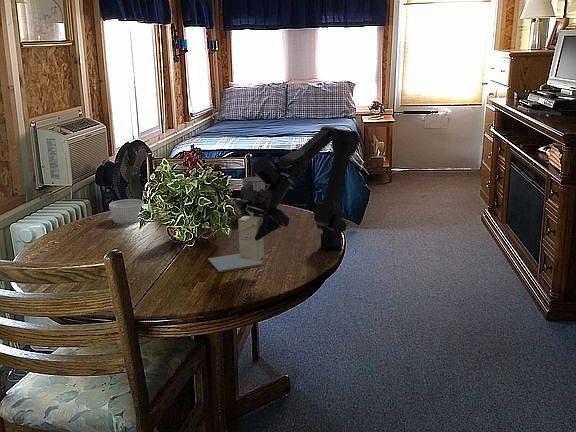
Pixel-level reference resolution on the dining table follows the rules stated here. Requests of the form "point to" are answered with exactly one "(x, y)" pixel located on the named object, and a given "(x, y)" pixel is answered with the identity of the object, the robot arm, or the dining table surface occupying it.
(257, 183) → the milk frother
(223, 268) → the slate mat
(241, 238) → the skincare box
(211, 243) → the dining table surface
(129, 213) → the white bowl
